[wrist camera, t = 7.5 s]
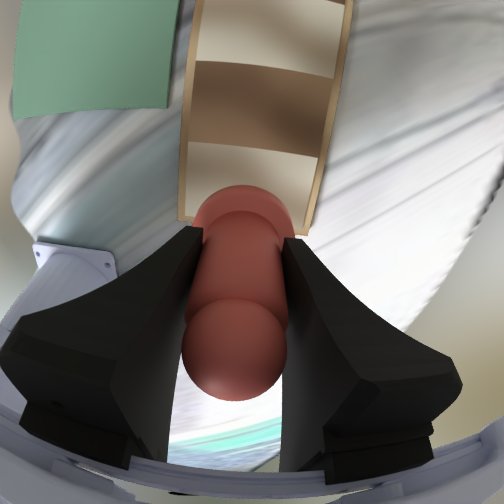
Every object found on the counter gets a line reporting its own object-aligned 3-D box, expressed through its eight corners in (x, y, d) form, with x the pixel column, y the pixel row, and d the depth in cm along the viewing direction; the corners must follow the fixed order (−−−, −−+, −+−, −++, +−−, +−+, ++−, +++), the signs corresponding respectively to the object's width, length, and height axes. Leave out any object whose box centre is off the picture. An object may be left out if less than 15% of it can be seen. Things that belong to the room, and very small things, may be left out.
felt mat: (167, 107, 14) (166, 108, 14) (16, 119, 14) (13, 120, 13) (202, -91, 7) (201, -93, 6) (39, -49, 6) (37, -50, 6)
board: (306, 231, 18) (307, 237, 18) (179, 216, 18) (176, 222, 17) (359, -95, 6) (362, -100, 5) (226, -115, 5) (225, -120, 4)
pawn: (282, 275, 13) (297, 429, 7) (193, 265, 13) (154, 416, 7) (301, 192, 11) (352, 345, 5) (196, 179, 11) (126, 322, 5)
